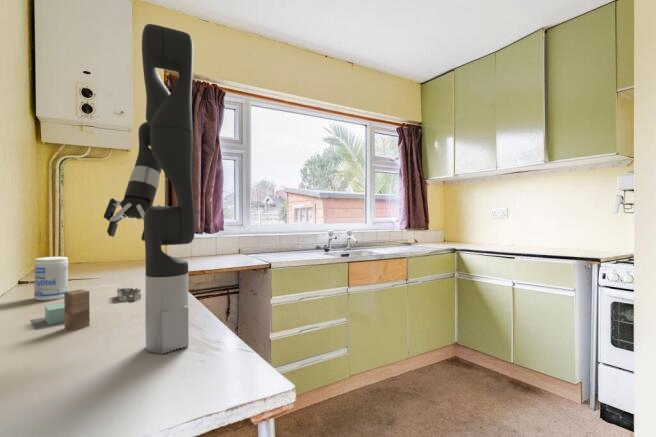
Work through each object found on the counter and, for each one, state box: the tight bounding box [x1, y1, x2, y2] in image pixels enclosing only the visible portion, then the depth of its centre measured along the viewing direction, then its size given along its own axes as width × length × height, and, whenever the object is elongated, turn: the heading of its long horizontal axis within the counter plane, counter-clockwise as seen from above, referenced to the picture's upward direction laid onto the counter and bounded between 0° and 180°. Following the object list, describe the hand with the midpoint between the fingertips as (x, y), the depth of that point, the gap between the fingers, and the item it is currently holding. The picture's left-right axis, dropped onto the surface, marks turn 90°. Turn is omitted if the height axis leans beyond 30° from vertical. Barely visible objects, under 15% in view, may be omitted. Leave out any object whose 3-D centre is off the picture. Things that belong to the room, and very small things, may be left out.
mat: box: [29, 316, 65, 331], centre depth 99 cm, size 12×12×1 cm
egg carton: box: [116, 287, 142, 303], centre depth 124 cm, size 11×8×4 cm
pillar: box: [63, 289, 91, 331], centre depth 92 cm, size 4×4×10 cm
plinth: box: [44, 303, 65, 325], centre depth 98 cm, size 6×6×4 cm
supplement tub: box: [33, 256, 69, 301], centre depth 124 cm, size 10×10×15 cm
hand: (127, 238), depth 94 cm, fingers open, 8 cm apart
